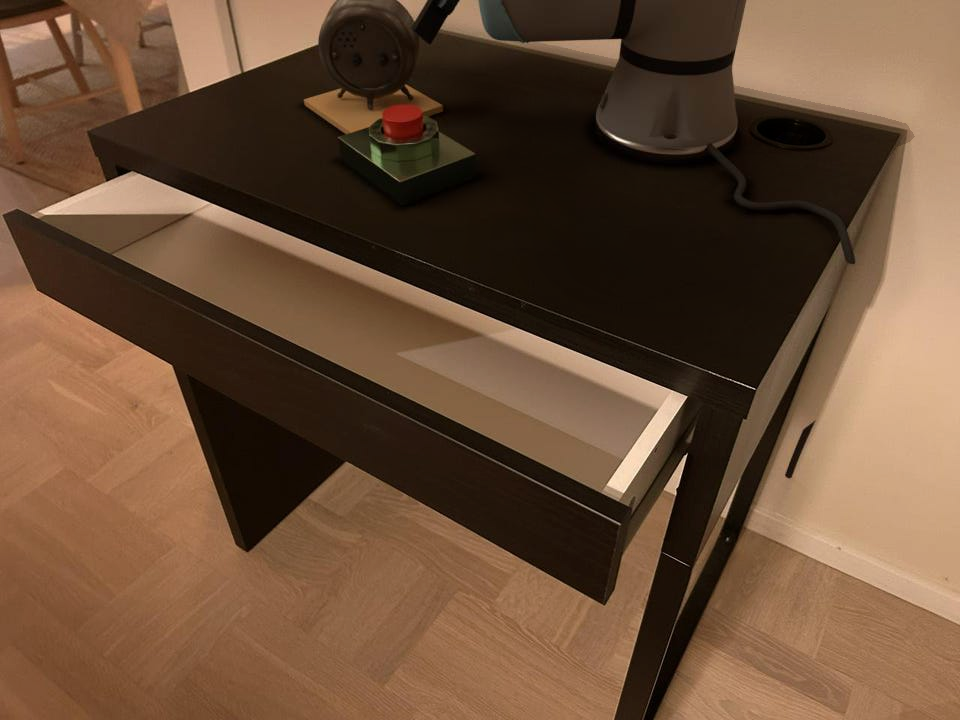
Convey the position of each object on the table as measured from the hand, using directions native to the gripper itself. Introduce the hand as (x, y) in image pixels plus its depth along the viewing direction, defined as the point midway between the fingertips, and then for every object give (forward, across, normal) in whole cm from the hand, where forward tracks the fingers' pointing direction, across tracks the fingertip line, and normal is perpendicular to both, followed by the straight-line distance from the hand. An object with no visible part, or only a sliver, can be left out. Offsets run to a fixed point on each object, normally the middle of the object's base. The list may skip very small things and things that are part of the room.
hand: (385, 20), depth 84 cm
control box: (+12, +15, +1) cm, 19 cm away
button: (+9, +15, -2) cm, 18 cm away
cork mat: (+9, 0, +5) cm, 10 cm away
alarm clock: (+8, 0, +4) cm, 9 cm away
